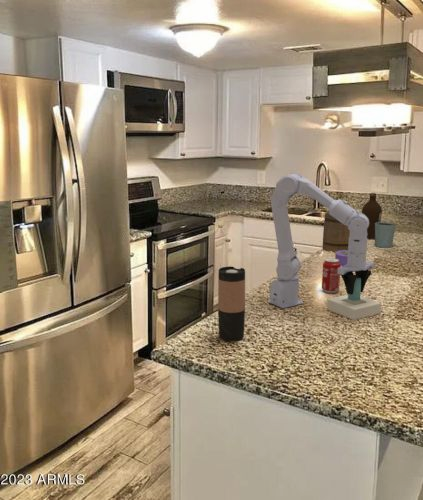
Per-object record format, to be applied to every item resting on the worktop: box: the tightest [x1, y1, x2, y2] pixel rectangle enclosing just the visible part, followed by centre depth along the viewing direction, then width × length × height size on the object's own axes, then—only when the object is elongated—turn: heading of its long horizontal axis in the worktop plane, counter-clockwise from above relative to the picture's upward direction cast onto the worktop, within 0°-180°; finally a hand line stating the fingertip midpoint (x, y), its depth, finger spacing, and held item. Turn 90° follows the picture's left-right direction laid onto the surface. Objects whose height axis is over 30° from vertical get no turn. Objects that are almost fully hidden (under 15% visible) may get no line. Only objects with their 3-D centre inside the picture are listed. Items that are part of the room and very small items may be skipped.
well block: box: [326, 294, 382, 321], centre depth 165 cm, size 12×12×4 cm
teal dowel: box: [347, 277, 362, 301], centre depth 164 cm, size 4×4×7 cm
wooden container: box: [322, 211, 350, 253], centre depth 253 cm, size 15×15×22 cm
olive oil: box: [361, 192, 383, 240], centre depth 280 cm, size 11×11×25 cm
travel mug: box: [217, 265, 246, 342], centre depth 143 cm, size 8×8×20 cm
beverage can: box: [321, 257, 342, 294], centre depth 186 cm, size 6×6×12 cm
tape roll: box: [334, 250, 348, 267], centre depth 226 cm, size 12×12×5 cm
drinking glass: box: [374, 221, 397, 249], centre depth 260 cm, size 10×10×12 cm
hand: (354, 292), depth 164 cm, fingers closed on teal dowel, 4 cm apart
